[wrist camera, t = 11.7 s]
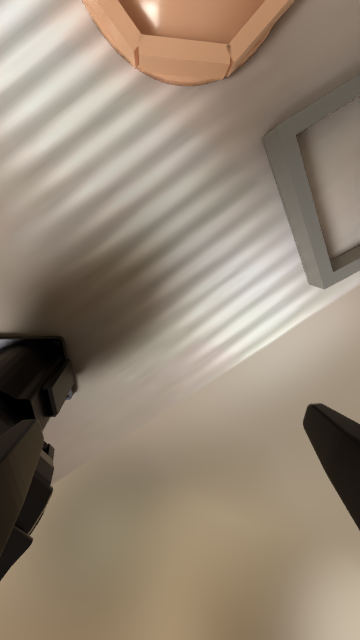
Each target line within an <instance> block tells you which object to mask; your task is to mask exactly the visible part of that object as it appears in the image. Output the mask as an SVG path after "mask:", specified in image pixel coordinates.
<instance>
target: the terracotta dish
mask: <svg viewBox="0 0 360 640" xmlns="http://www.w3.org/2000/svg"><path fill="white" fill-rule="evenodd" d="M82 1H83V3H84V5H85V7H86V9H87V10H88V12H89V14H90V16H91V18H92V20H93V21H94V23H95V24H96V26H97V27H98V29H99V30H100V31H101V33H102V34H103V36H104V37H105V38H106V40H107V41H108V42H109V43H110V44H111V46H112V47H113V48H114V49H115V50H116V51H117V52H118V53H119V54H120V55H121V56H122V57H123V58H124V59H125V60H126V61H127V62H129V63H130V64H131V65H133V66H134V67H135V69H136V68H137V69H138V70H139V71H140V72H143V73H144V74H146V75H148V76H150V77H152V78H154V79H156V80H159V81H162V82H165V83H168V84H173V85H179V86H197V85H203V84H208V83H211V82H214V81H217V80H223V78H224V77H225V76H226V77H227V78H228V76H229V75H230V74H231V73H232V72H234V71H235V70H236V69H238V68H239V67H240V66H242V65H243V64H244V63H245V62H246V61H247V60H248V59H249V58H250V57H251V56H252V55H253V54H254V53H255V52H256V51H257V49H258V48H259V47H260V45H261V44H262V43H263V42H264V40H265V39H266V37H267V36H268V34H269V32H270V31H271V29H272V27H273V26H274V24H275V23H276V22H277V21H278V19H279V18H280V17H281V16H282V15H283V14H284V13H285V11H286V10H287V9H288V8H289V7H290V6H291V5H292V3H293V2H294V1H295V0H82Z"/></svg>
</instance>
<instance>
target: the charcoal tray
mask: <svg viewBox="0 0 360 640" xmlns="http://www.w3.org/2000/svg"><path fill="white" fill-rule="evenodd" d="M359 96H360V74H359V75H357V76H355V77H354V78H352V79H351V80H349V81H347V82H346V83H344V84H343V85H341V86H339V87H338V88H336V89H335V90H333V91H331V92H330V93H328V94H327V95H325V96H323V97H322V98H320V99H319V100H317V101H315V102H314V103H312V104H311V105H309V106H307V107H306V108H304V109H303V110H301V111H299V112H298V113H296V114H295V115H293V116H291V117H290V118H288V119H287V120H285V121H283V122H282V123H280V124H279V125H277V126H276V127H274V128H273V129H272V130H271V131H270V132H269V133H267V134H266V135H265V136H264V137H263V138H262V140H263V143H264V146H265V149H266V152H267V155H268V158H269V162H270V165H271V168H272V171H273V174H274V177H275V180H276V183H277V186H278V189H279V193H280V196H281V199H282V202H283V205H284V208H285V211H286V214H287V217H288V220H289V224H290V227H291V230H292V233H293V236H294V239H295V242H296V245H297V248H298V251H299V254H300V258H301V261H302V264H303V267H304V270H305V273H306V276H307V279H308V282H309V284H310V285H313V286H316V287H319V288H322V289H326V288H328V287H330V286H332V285H334V284H335V283H337V282H339V281H341V280H343V279H345V278H347V277H349V276H350V275H352V274H354V273H356V272H358V271H360V245H358V246H357V247H355V248H353V249H351V250H349V251H348V252H346V253H344V254H342V255H340V256H338V257H337V258H335V259H333V260H331V261H330V259H329V256H328V252H327V248H326V245H325V241H324V237H323V234H322V230H321V226H320V223H319V219H318V215H317V212H316V208H315V204H314V200H313V197H312V193H311V189H310V186H309V182H308V178H307V175H306V171H305V167H304V164H303V160H302V156H301V153H300V149H299V145H298V141H297V138H296V135H298V134H299V133H301V132H302V131H304V130H306V129H307V128H309V127H311V126H312V125H314V124H315V123H317V122H319V121H320V120H322V119H324V118H325V117H327V116H328V115H330V114H332V113H333V112H335V111H337V110H338V109H340V108H341V107H343V106H345V105H346V104H348V103H350V102H351V101H353V100H354V99H356V98H358V97H359Z"/></svg>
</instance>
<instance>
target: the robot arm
mask: <svg viewBox="0 0 360 640" xmlns="http://www.w3.org/2000/svg"><path fill="white" fill-rule="evenodd" d="M55 341H58V342H59V343H60V344H57V343H56V342H55ZM73 384H74V378H73V373H72V367H71V361H70V360H69V359H68V358H67V354H66V348H65V343H64V339H63V338H62V337H60V336H40V337H0V581H1V579H2V578H3V577H4V575H5V574H6V573H7V571H8V570H9V569H10V567H11V566H12V565H13V564H14V563H15V562H16V561H17V560H18V559H19V557H20V556H21V555H22V554H23V553H24V552H25V551H26V550H27V549H28V548H29V546H30V545H31V543H32V541H33V538H32V537H31V536H30V534H31V533H32V531H33V530H34V528H35V527H36V525H37V524H38V522H39V520H40V519H41V517H42V515H43V513H44V510H45V508H46V506H47V504H48V502H49V500H50V497H51V495H52V491H53V487H52V486H51V485H50V484H51V480H52V475H53V471H54V466H53V457H54V448H53V447H52V446H51V445H50V444H47V443H46V442H45V441H44V437H43V433H42V431H43V429H44V428H45V426H46V424H47V422H48V421H49V419H50V417H55V416H56V415H57V414H58V413H59V411H60V409H61V407H62V405H63V403H64V402H65V400H70V399H71V398H72V396H73V394H74V392H73V387H72V386H73ZM68 394H69V395H68ZM303 426H304V429H305V431H306V433H307V435H308V437H309V439H310V442H311V444H312V446H313V448H314V450H315V452H316V454H317V456H318V458H319V460H320V462H321V464H322V466H323V468H324V470H325V472H326V474H327V476H328V477H329V479H330V481H331V483H332V484H333V486H334V488H335V490H336V491H337V493H338V495H339V496H340V498H341V500H342V501H343V503H344V505H345V506H346V508H347V510H348V511H349V513H350V515H351V517H352V518H353V520H354V522H355V523H356V525H357V526H358V528H359V530H360V424H358V423H356V422H355V421H353V420H351V419H349V418H347V417H345V416H344V415H342V414H340V413H338V412H336V411H335V410H332V409H331V408H329V407H327V406H325V405H323V404H320V403H315V404H309V405H308V406H307V410H306V413H305V416H304V420H303Z"/></svg>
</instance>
